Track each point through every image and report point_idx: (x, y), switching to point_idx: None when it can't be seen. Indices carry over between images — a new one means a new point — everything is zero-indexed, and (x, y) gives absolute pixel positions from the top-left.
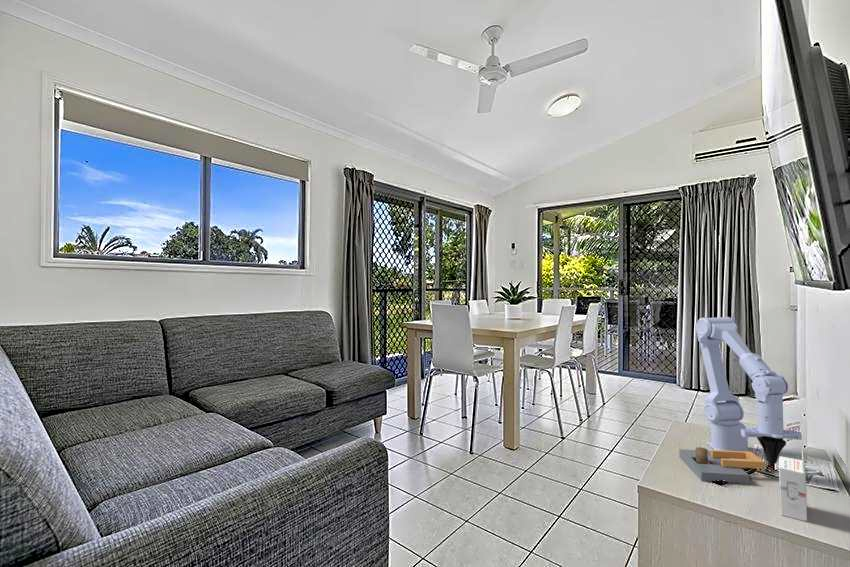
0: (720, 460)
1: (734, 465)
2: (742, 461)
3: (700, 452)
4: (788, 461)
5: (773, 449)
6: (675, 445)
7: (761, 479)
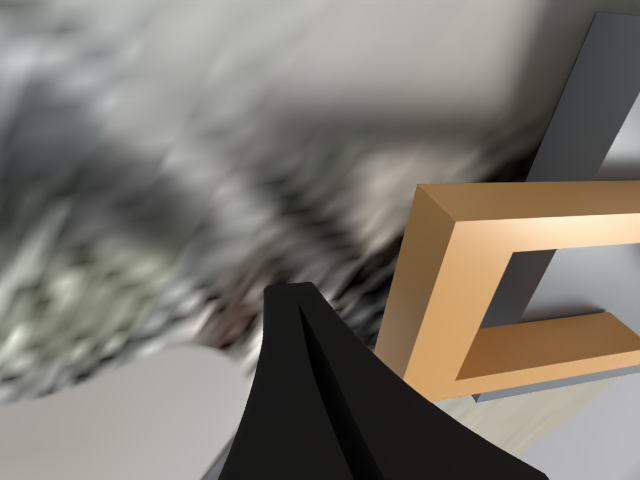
0: (602, 282)
1: None
2: (636, 210)
3: None
4: None
5: (363, 410)
6: (528, 430)
7: (430, 119)
